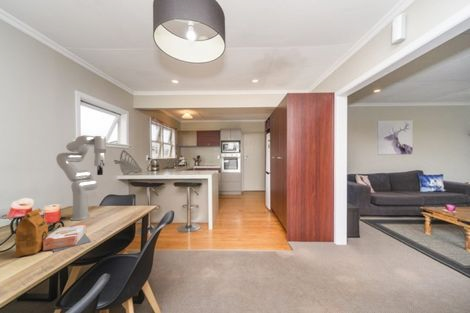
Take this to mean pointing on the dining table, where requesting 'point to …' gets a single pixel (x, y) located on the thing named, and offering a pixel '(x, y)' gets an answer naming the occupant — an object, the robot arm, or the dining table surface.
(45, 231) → the coffee package
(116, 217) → the dining table surface
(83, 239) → the mat
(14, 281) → the dining table surface
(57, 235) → the cracker box
